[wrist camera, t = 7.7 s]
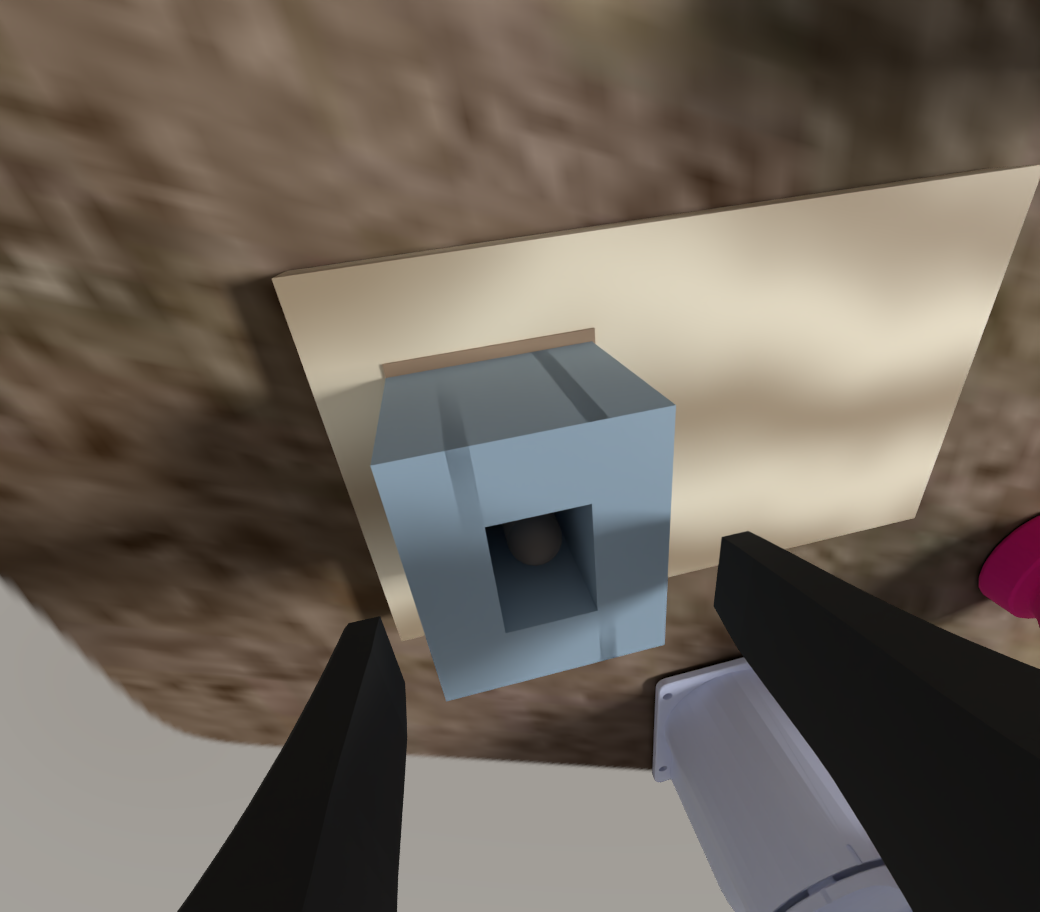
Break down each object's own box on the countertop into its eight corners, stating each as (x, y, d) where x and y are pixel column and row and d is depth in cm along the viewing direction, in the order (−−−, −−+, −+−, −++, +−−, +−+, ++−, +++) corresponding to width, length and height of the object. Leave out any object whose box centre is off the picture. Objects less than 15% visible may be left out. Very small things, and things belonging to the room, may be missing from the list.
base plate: (884, 499, 21) (1029, 589, 16) (402, 611, 19) (397, 759, 14) (990, 167, 15) (1283, 148, 10) (286, 271, 13) (198, 314, 7)
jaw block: (600, 532, 17) (664, 644, 13) (438, 569, 16) (446, 701, 12) (591, 341, 13) (675, 404, 9) (385, 378, 13) (369, 465, 8)
